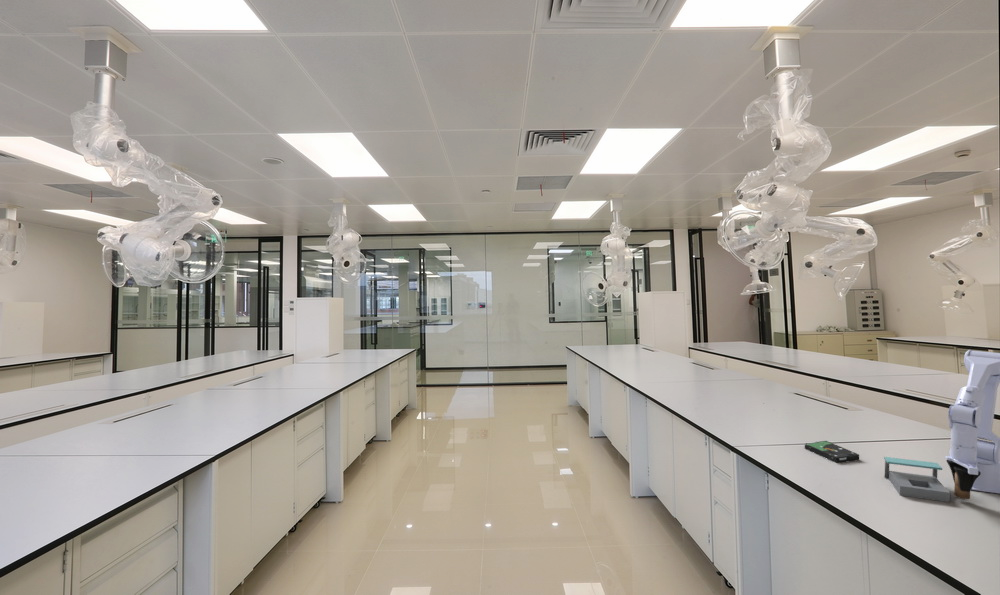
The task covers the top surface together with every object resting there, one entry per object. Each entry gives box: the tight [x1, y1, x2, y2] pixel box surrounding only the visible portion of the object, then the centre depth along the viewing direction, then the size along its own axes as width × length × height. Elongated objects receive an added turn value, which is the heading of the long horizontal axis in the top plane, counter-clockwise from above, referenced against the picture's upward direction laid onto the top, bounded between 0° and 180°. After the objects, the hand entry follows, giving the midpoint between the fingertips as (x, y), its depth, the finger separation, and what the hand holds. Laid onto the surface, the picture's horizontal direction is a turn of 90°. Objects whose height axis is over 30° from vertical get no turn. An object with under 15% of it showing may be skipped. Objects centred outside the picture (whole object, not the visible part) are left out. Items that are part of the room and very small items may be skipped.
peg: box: [953, 472, 971, 500], centre depth 146 cm, size 4×4×7 cm
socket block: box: [888, 470, 951, 503], centre depth 154 cm, size 12×12×3 cm
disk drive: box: [804, 440, 860, 464], centre depth 184 cm, size 10×3×15 cm
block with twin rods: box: [883, 456, 943, 479], centre depth 159 cm, size 14×4×7 cm, turn 64°
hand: (962, 488), depth 146 cm, fingers closed on peg, 3 cm apart
